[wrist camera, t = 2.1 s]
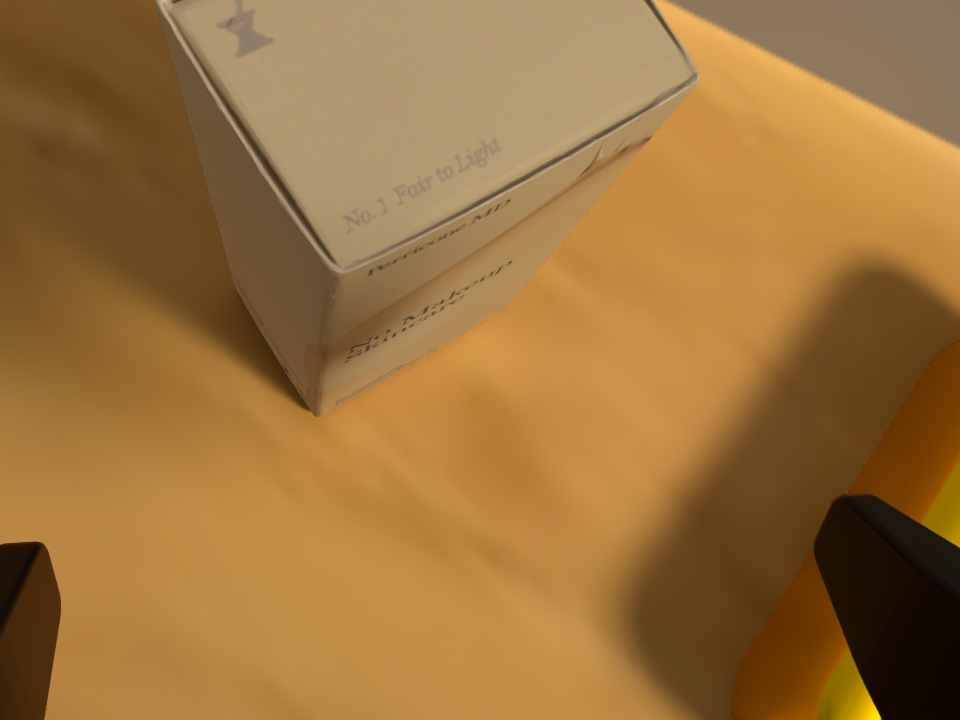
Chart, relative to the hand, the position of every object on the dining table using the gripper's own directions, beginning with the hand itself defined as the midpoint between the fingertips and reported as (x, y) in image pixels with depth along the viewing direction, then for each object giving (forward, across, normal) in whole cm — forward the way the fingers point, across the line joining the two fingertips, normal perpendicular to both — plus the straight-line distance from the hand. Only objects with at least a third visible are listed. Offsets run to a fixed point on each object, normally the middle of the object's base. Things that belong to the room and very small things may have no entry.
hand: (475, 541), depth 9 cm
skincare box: (+13, 0, +4) cm, 14 cm away
